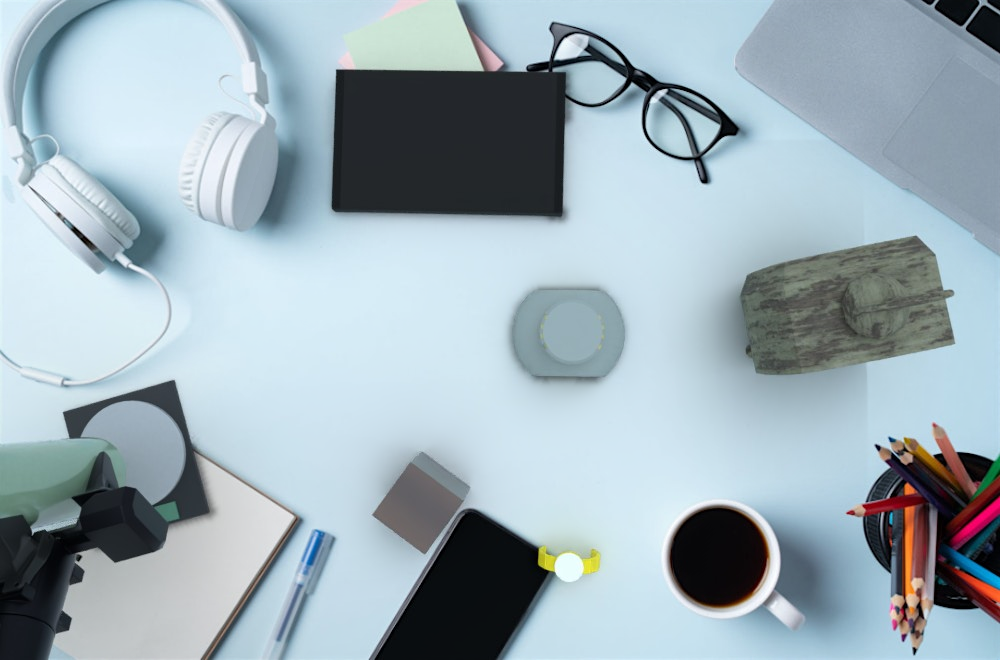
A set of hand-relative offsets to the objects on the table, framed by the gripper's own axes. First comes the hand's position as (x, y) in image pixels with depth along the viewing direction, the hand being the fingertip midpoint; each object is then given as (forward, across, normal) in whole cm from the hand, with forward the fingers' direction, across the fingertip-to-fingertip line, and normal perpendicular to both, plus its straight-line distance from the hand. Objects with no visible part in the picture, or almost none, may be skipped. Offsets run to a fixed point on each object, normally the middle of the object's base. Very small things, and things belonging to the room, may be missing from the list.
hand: (65, 465), depth 68 cm
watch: (-6, -40, +25) cm, 47 cm away
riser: (+1, -28, +18) cm, 33 cm away
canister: (+1, 0, +3) cm, 3 cm away
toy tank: (+6, -68, +13) cm, 70 cm away
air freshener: (+9, -46, +10) cm, 48 cm away
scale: (+9, 0, +10) cm, 13 cm away
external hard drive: (+24, -39, -6) cm, 47 cm away
